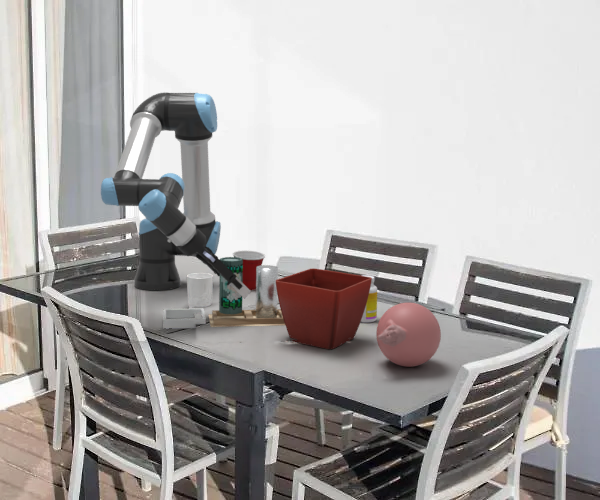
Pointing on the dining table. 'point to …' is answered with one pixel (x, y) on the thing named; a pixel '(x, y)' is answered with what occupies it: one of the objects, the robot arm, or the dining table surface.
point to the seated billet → (266, 291)
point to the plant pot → (322, 306)
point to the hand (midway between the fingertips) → (243, 291)
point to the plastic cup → (250, 266)
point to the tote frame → (182, 314)
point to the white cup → (199, 289)
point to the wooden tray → (244, 319)
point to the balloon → (408, 334)
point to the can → (230, 287)
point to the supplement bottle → (370, 304)
